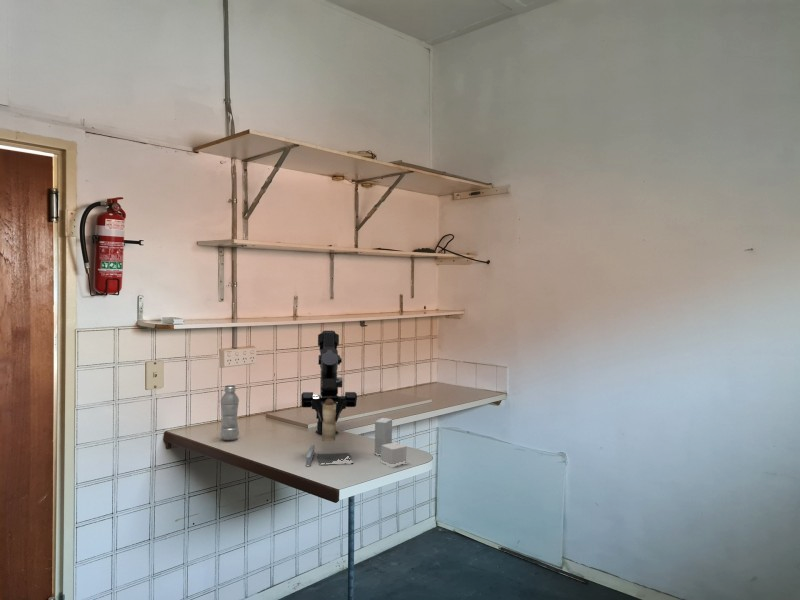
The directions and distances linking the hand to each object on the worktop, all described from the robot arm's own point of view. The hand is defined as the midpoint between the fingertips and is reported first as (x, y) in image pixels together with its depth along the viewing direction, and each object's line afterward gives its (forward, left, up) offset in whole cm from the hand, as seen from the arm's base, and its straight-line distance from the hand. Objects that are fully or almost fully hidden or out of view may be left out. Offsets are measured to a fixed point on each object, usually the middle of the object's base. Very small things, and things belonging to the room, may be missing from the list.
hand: (329, 421), depth 194 cm
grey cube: (-16, +15, -14) cm, 26 cm away
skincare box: (-20, +5, -14) cm, 24 cm away
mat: (-3, 0, -13) cm, 14 cm away
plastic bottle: (+14, -43, -14) cm, 47 cm away
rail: (+4, -5, -13) cm, 15 cm away
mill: (-1, -1, -7) cm, 7 cm away
